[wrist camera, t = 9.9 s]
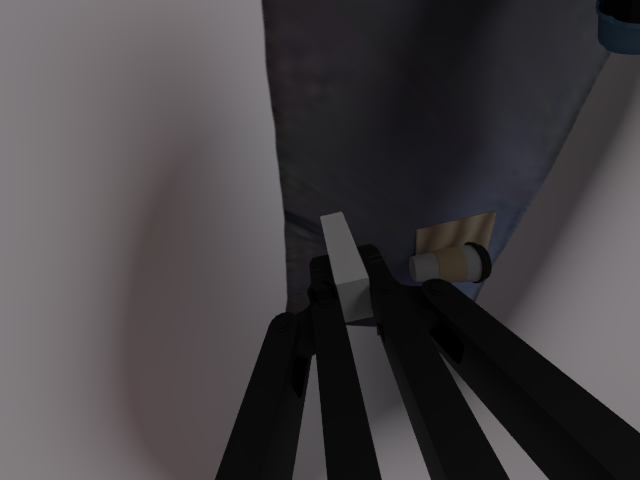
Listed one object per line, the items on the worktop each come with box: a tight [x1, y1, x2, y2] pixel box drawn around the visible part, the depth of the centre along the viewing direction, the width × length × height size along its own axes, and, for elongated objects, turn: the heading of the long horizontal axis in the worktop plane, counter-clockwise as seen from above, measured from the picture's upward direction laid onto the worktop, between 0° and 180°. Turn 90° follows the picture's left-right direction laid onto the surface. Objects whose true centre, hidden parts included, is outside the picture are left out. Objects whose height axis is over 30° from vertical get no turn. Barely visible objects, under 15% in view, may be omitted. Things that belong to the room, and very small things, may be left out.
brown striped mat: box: [416, 211, 496, 255], centre depth 57 cm, size 18×16×1 cm
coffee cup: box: [409, 242, 492, 283], centre depth 53 cm, size 9×9×15 cm
